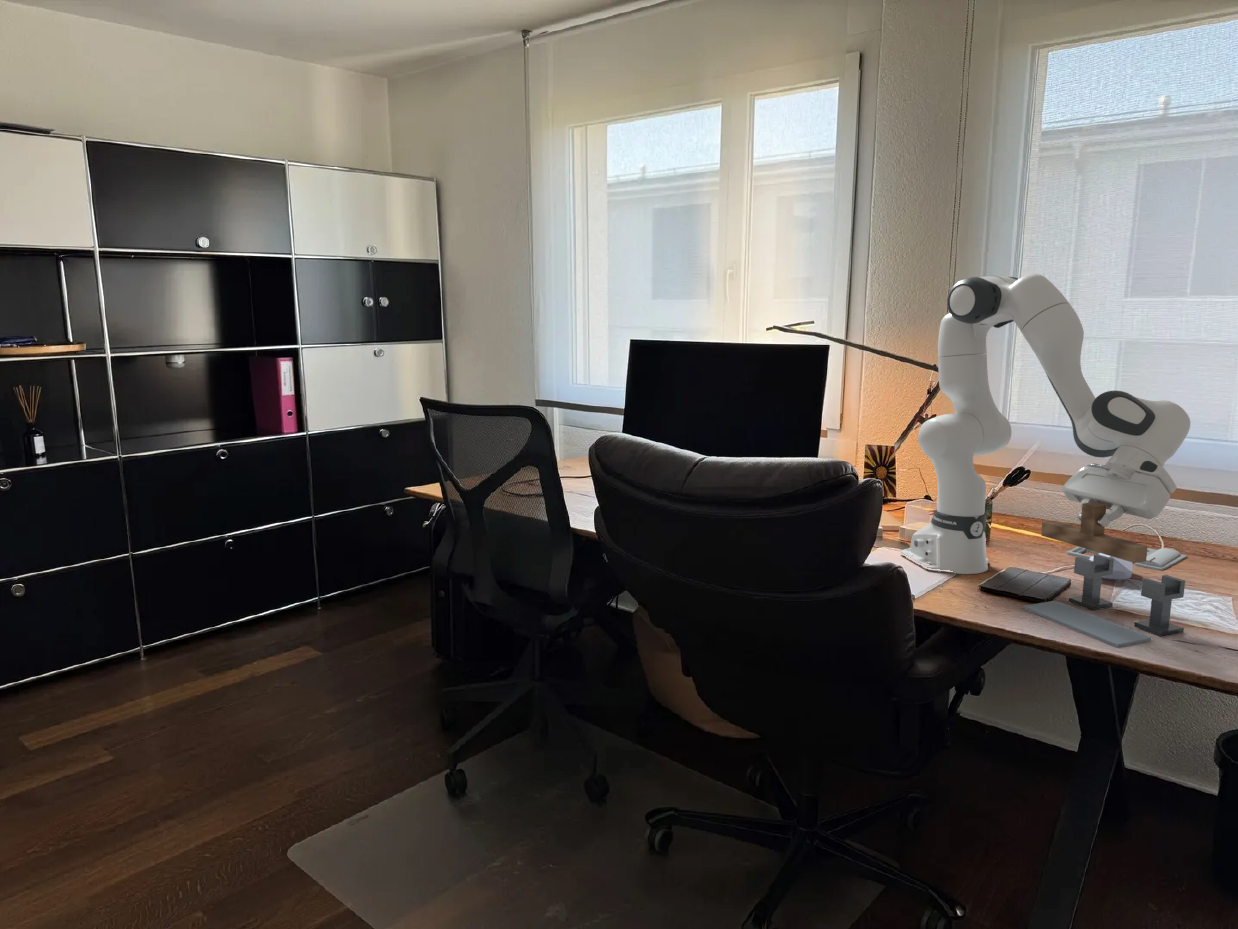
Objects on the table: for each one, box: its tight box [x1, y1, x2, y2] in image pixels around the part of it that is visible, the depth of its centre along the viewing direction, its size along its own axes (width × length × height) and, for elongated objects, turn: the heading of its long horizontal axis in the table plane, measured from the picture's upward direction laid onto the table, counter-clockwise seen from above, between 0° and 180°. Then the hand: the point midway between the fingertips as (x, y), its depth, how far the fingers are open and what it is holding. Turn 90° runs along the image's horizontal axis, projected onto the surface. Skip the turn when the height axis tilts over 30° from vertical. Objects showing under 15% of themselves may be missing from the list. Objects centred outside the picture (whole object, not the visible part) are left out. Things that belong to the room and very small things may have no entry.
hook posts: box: [1068, 553, 1186, 638], centre depth 177 cm, size 22×7×10 cm, turn 20°
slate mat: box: [1022, 600, 1152, 648], centre depth 174 cm, size 23×9×1 cm, turn 20°
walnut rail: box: [1040, 502, 1149, 564], centre depth 170 cm, size 22×3×9 cm, turn 20°
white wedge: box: [1089, 553, 1134, 580], centre depth 204 cm, size 9×7×13 cm
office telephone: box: [1065, 546, 1188, 571], centre depth 220 cm, size 23×3×20 cm
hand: (1090, 522), depth 170 cm, fingers closed on walnut rail, 3 cm apart
